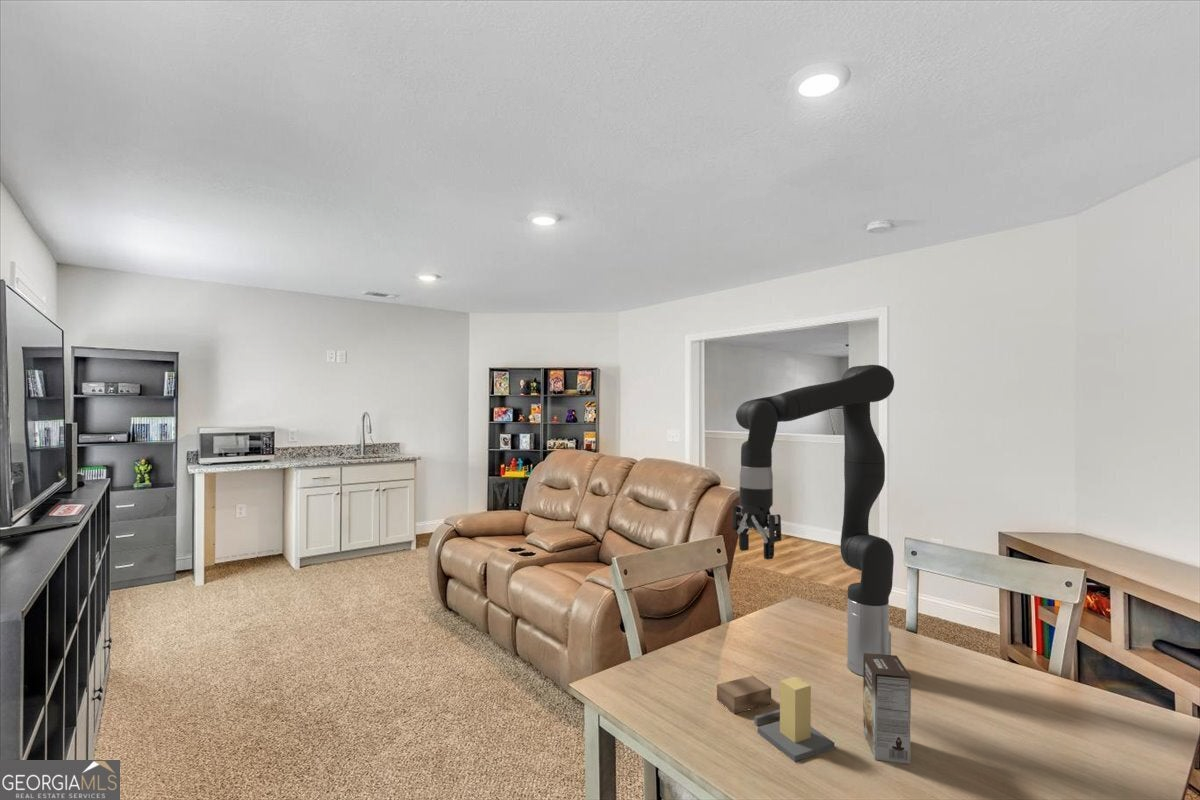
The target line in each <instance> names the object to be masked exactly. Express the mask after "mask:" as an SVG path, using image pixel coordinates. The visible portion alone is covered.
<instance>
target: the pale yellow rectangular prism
mask: <svg viewBox="0 0 1200 800" xmlns="http://www.w3.org/2000/svg"><path fill="white" fill-rule="evenodd" d="M811 688H812V685H810V684H808V683H807V682H805V681H804V680H802V679H800V678H798V677H797V676H791V677H789V678H785V679H780V680H779V709H780V719H779V721H780V732H781V733H782V734H784V735H785V736H786V737H788V738H789V739H790V740H792V741H793V742H794V743H796V742H799V741H802V740H805V739H808V738H811V727H812V719H811V717H812V716H811V715H812V704H811V703H812V692H811V691H812V689H811Z"/></svg>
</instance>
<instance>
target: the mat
mask: <svg viewBox="0 0 1200 800" xmlns="http://www.w3.org/2000/svg"><path fill="white" fill-rule="evenodd" d="M757 734H759V735H760V736H761V737H762V738H764V739H765V740H766V741H768V742H769V743H770V744H771V745H773V746H774V747H776V749H778V750H779V751H780V752H782V753H783V754H784V755H786V756H787V757H788V758H789V759H791V760H792V761H793V762H794V763H795V762H797V761H801V760H803V759H807V758H808V757H812V756H815V755H818V754H821V753H824V752H827V751H829V750H833V749H835V747H836V746H835V742H834V741H833V740H832V739H830V737H829V738H828V737H827V736H826V735H825V734H823V733H821V732H820V731H818V730H817V729H816V728H814V727H813V726H811V738H808V739H805V740H802V741H799V742H796V743H794V742H793V741H792V740H790V739H789V738H788V737H786V736H785V735H784V734H782V733H781V732H780V720H777V721H773V722H770V723H767V724H763V725H760V726H757Z"/></svg>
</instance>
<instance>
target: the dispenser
mask: <svg viewBox="0 0 1200 800" xmlns="http://www.w3.org/2000/svg"><path fill="white" fill-rule="evenodd" d="M717 700H718V701H719V702H721V703H722V704H723V705H724V706H723V705H722V704H721V703H720V704H721V705H722V706H723V707H725V706H726V707H727V708H728V709H729V710H728V709H727V708H726V707H725V708H726V709H727V710H728V711H730V710H731V711H732V712H733V713H736V714H739V713H738V712H740V713H743V712H742V711H744V712H746V711H745V710H747V711H749V710H748V709H751V710H753V709H752V708H754V709H757V708H756V707H758V708H760V707H759V706H762V707H764V706H763V705H765V706H768V705H767V704H769V705H771V704H772V687H771V686H769V684H766V683H765V682H763V681H762V680H760V679H759V678H757V677H756V676H755V675H750V676H746V677H742V678H737V679H733V680H729V681H725V682H722V683H718V684H716V701H717ZM718 701H717V702H718ZM719 702H718V703H719ZM731 711H730V712H731ZM732 712H731V713H732ZM733 713H732V714H733ZM753 717H754V725H756V726H757V727H759V726H762V725H766V724H769V723H773V722H776V721H779V720H780V708H779V709H776V710H773V711H772V710H771V711H768V712H764V713H761V714H759V715H754V716H753Z"/></svg>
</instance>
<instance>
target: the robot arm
mask: <svg viewBox="0 0 1200 800" xmlns="http://www.w3.org/2000/svg"><path fill="white" fill-rule="evenodd" d="M894 388H895V378H894V376H893V374H892V371H890V369H888V368H887V367H886V366H884V365H879V364H868V365H867V364H866V365H857V366H851V367H849V368H847V369H846V371H845V372H844V373H843V374H842V377H841V379H840V380H835V381H830V382H826V383H824V382H823V383H819V384H813V385H808V386H804V387H800V388H795V389H792V390H791V389H790V390H788V391H785V392H782V393H778V394H776V395H771V396H766V397H761V398H760V397H759V398H755V399H750V400H747V401H745V402H743V403H741V404H740V405H739V406H738V407H737V410H736V413H735V419H736V422H737V424H738V425H739V426H741V427H742V428H743V429H746V430H749V431H748V438H747V440H746V441H744V442H743V443H742V444H741V446H740V447H741V448H740V472H739V504H740V505H736V506H735V505H734V506H733V511H732V530H733V531H736V532H737V535H738V546H739V547H738V548H739V550H740V551H742V552H744V551H745V552H746V551H748V550H749V549H750V545H749V544H750V542H749V539H750V538H749V537H750V535H749V532H750V531H751V529H754V530H756V531H757V532H758V534H759V535H761V537H762V540H763V541H764V542H763V559H765V560H773V559H774V556H775V543H777V542H778V543H779V542H781V541H782V521H781V520H782V519H781V517H782V516H781V515H780V514H771V512H770V511H771V510H770V509H771V508H772V507H773V505H774V504H773V503H774V500H773V499H774V498H773V497H774V494H773V492H774V491H773V490H774V487H773V486H774V484H773V483H774V482H773V481H774V475H773V474H774V473H773V468H772V467H773V466H772V465H773V454H772V453H773V452H772V449H773V445H774V442H775V438H776V435H777V434H776V433H777V429H778V424H779V422H783V423H784V422H793V421H796V420H799V419H802V418H803V419H804V418H806V417H809V416H812V415H813V416H814V415H815V414H819V413H822V412H825V411H829V410H832V409H836V408H840V407H842V413H843V414H842V415H843V427H844V429H843V431H844V435H843V436H844V437H843V438H844V440H843V441H844V456H843V457H844V459H843V461H844V462H843V463H844V469H843V470H844V471H843V473H844V474H843V475H844V499H843V502H844V503H843V520H842V525H841V526H842V527H841V534H840V555H841V558H842V560H843V562H844V563H845V564H846V565H847V566H849V567H850V568H853V569H855V570H857V571H860V572H861V576H860V582H854V583H851V584H849V585H848V586H847V595H846V596H847V597H846V598H847V605H846V606H847V630H846V631H847V633H846V634H847V637H846V638H847V639H846V640H847V641H846V643H847V647H846V650H847V651H846V654H847V655H846V658H847V661H846V663H847V664H846V666H847V668H848V670H850V671H851V672H853V673H855V674H857V675H859V676H861V677H863V661H864V654H863V653H869V654H883V655H892V633H891V631H890V630H889V628H890V627H889V626H890V625H889V622H890V621H889V620H890V619H889V614H890V613H889V608H890V606H889V603H890V601H889V598H890V595H891V594H892V593H891V592H892V589H893V577H894V562H895V561H894V560H895V559H894V551H893V547H892V545H891V543H890V542H889V541H888V540H887V539H886V538H882V537H879V536H876V535H872V534H870V532H869V531H870V530H869V520H870V519H869V517H870V512H871V510H872V507H873V505H874V503H875V502H876V500H877V499H878V497H879V495H880V493H881V491H882V489H884V484H885V481H886V480H885V479H886V462H885V461H886V460H885V459H886V458H885V453H884V449H883V446H882V444H881V442H880V440H879V439H878V438H879V437H877V435H876V432H875V429H874V428H873V425H872V420H871V403H877V402H881V401H883V400H885V399H887V398H888V397H889V396H890V395H891V394H892V392H893V391H894Z"/></svg>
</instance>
